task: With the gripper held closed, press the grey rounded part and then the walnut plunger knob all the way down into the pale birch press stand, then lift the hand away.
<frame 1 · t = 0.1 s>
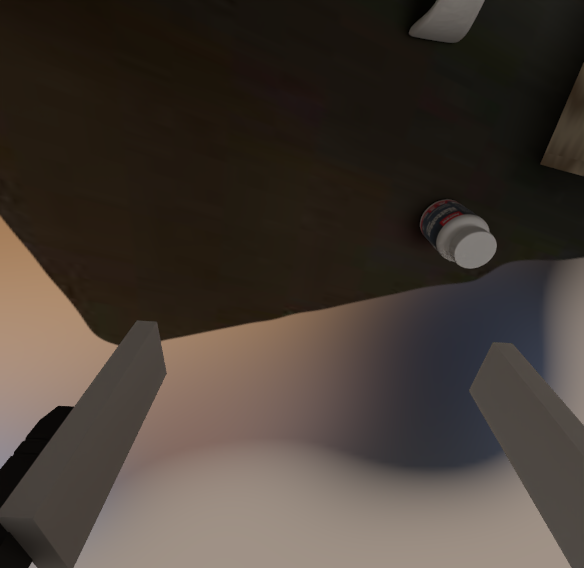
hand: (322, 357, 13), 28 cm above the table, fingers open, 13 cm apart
pill bottle: (440, 219, 39), on the table
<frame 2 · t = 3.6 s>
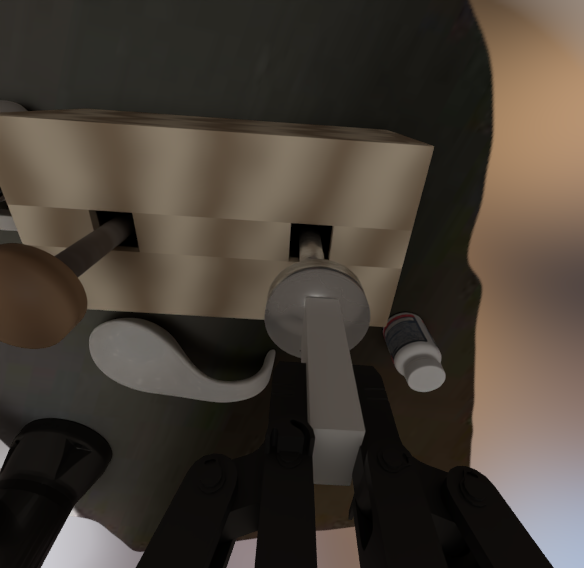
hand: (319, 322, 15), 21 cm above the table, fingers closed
spread jar: (24, 169, 33), on the table
pill bottle: (402, 326, 42), on the table
press stand: (239, 194, 33), on the table
spoon rest: (190, 344, 44), on the table
walnut plunger: (93, 247, 20), point 15 cm above the table, slide at 0.0 cm
grey rounded part: (311, 258, 21), point 14 cm above the table, slide at 0.4 cm, touching gripper
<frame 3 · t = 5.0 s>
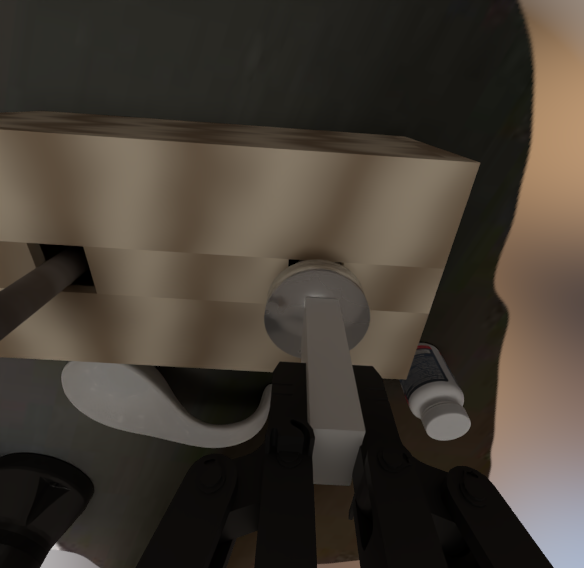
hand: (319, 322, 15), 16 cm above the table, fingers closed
pill bottle: (415, 357, 37), on the table
press stand: (228, 211, 28), on the table
spoon rest: (178, 377, 39), on the table
walnut plunger: (26, 295, 15), point 15 cm above the table, slide at 0.0 cm
grey rounded part: (311, 259, 21), point 9 cm above the table, slide at 6.1 cm, touching gripper
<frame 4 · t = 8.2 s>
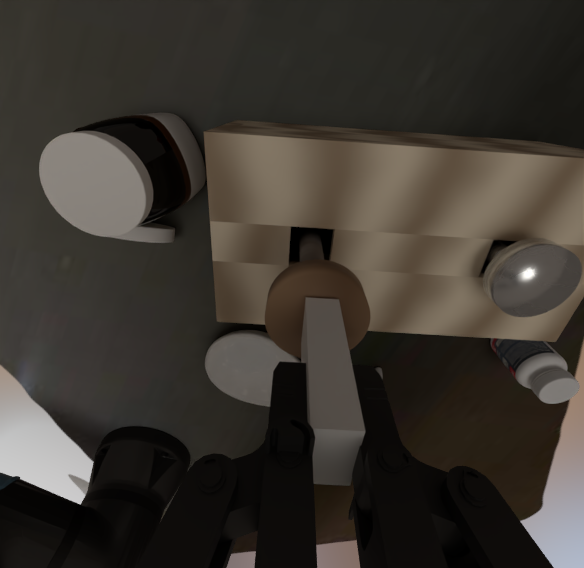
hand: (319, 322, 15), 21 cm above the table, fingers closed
spread jar: (160, 180, 32), on the table
pill bottle: (509, 336, 42), on the table
press stand: (373, 205, 33), on the table
spoon rest: (295, 358, 44), on the table
walnut plunger: (311, 258, 21), point 14 cm above the table, slide at 1.0 cm, touching gripper
grey rounded part: (482, 242, 26), point 9 cm above the table, slide at 6.1 cm
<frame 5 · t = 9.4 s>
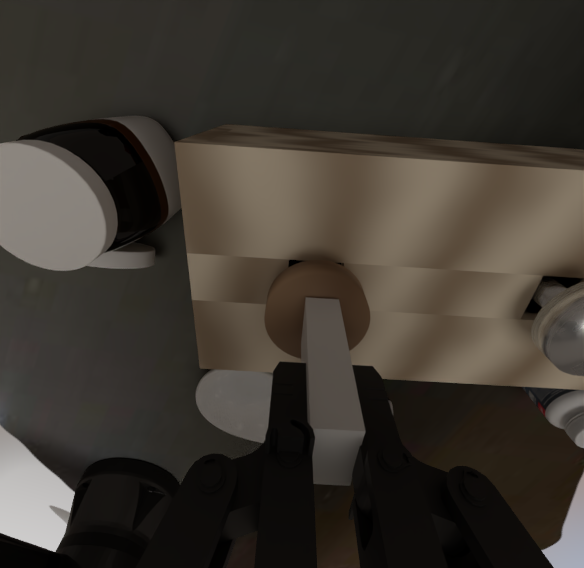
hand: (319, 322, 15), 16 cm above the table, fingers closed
spread jar: (137, 193, 28), on the table
pill bottle: (534, 364, 37), on the table
press stand: (385, 222, 28), on the table
spoon rest: (297, 388, 40), on the table
walnut plunger: (311, 259, 21), point 9 cm above the table, slide at 6.1 cm, touching gripper
grey rounded part: (521, 272, 21), point 9 cm above the table, slide at 6.1 cm
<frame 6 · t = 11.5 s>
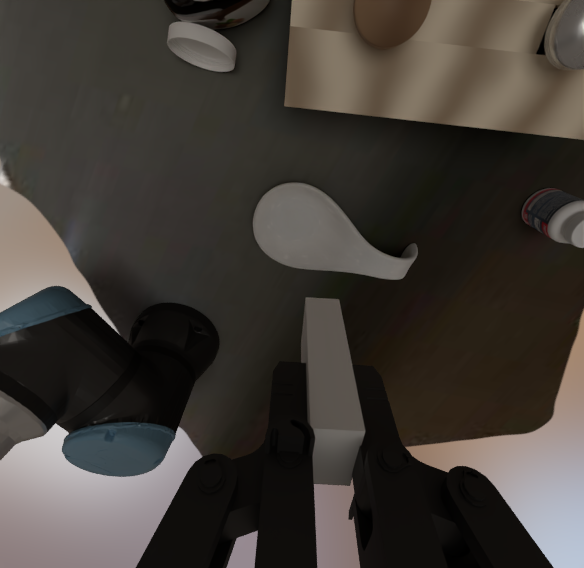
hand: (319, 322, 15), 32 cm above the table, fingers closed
spread jar: (223, 7, 34), on the table
pill bottle: (540, 206, 43), on the table
press stand: (425, 42, 35), on the table
spoon rest: (335, 230, 47), on the table
walnut plunger: (375, 19, 27), point 9 cm above the table, slide at 6.1 cm
grey rounded part: (537, 38, 27), point 9 cm above the table, slide at 6.1 cm
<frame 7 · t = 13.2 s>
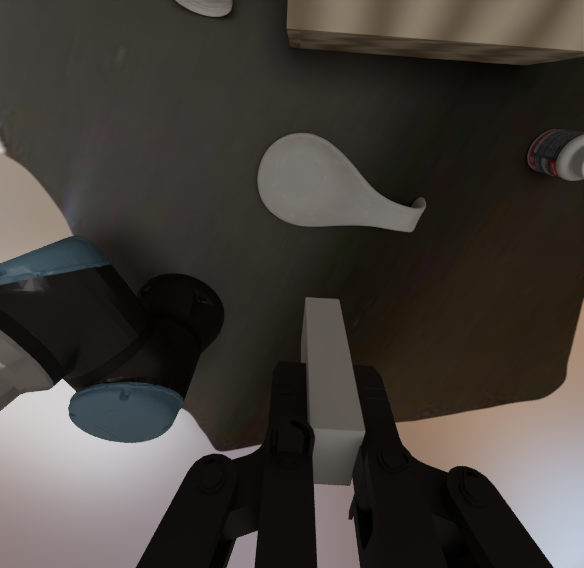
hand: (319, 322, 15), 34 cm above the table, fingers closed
pill bottle: (545, 150, 43), on the table
spoon rest: (340, 187, 46), on the table
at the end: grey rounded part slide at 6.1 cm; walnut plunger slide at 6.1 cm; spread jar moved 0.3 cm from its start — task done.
